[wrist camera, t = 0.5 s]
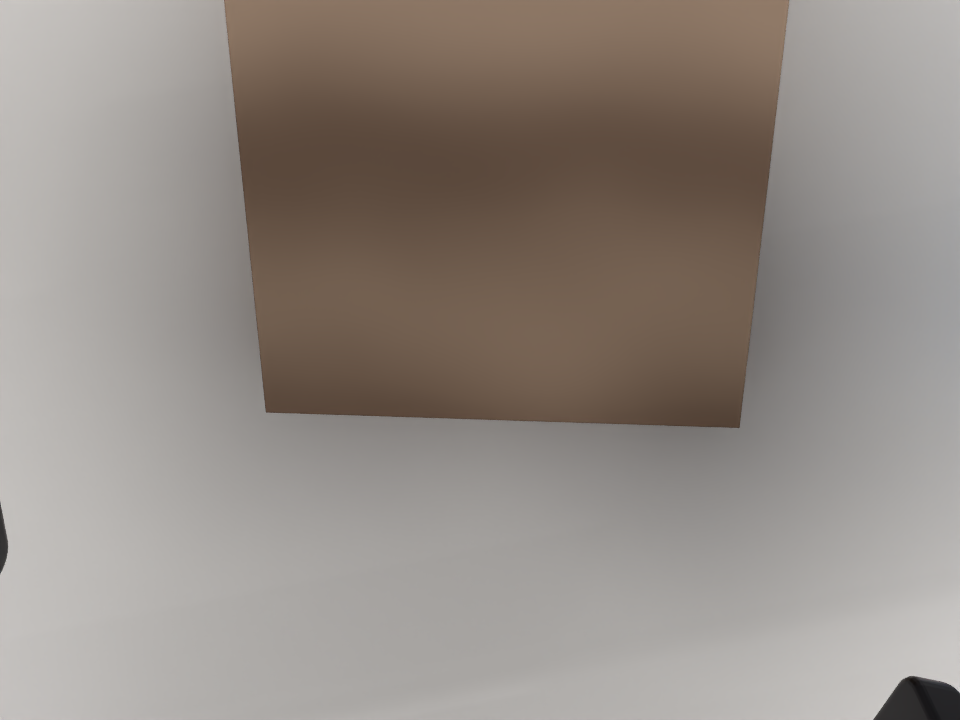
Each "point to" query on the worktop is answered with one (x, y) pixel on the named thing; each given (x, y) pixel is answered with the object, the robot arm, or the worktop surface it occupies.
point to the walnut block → (506, 203)
